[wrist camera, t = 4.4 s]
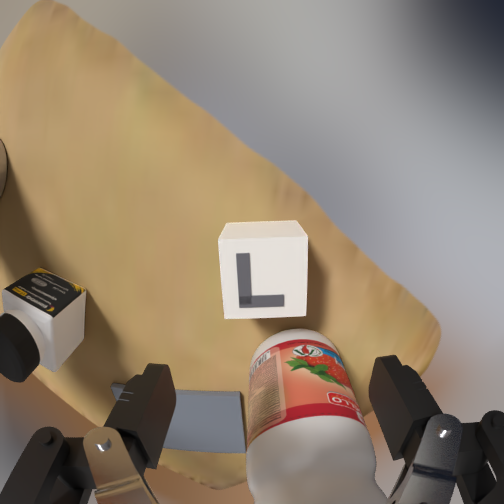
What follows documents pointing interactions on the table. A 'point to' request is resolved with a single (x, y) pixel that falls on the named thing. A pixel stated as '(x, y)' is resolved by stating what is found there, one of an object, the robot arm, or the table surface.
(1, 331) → the medicine bottle
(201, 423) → the slate mat
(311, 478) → the white plastic bottle
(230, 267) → the letter cube
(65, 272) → the table surface
